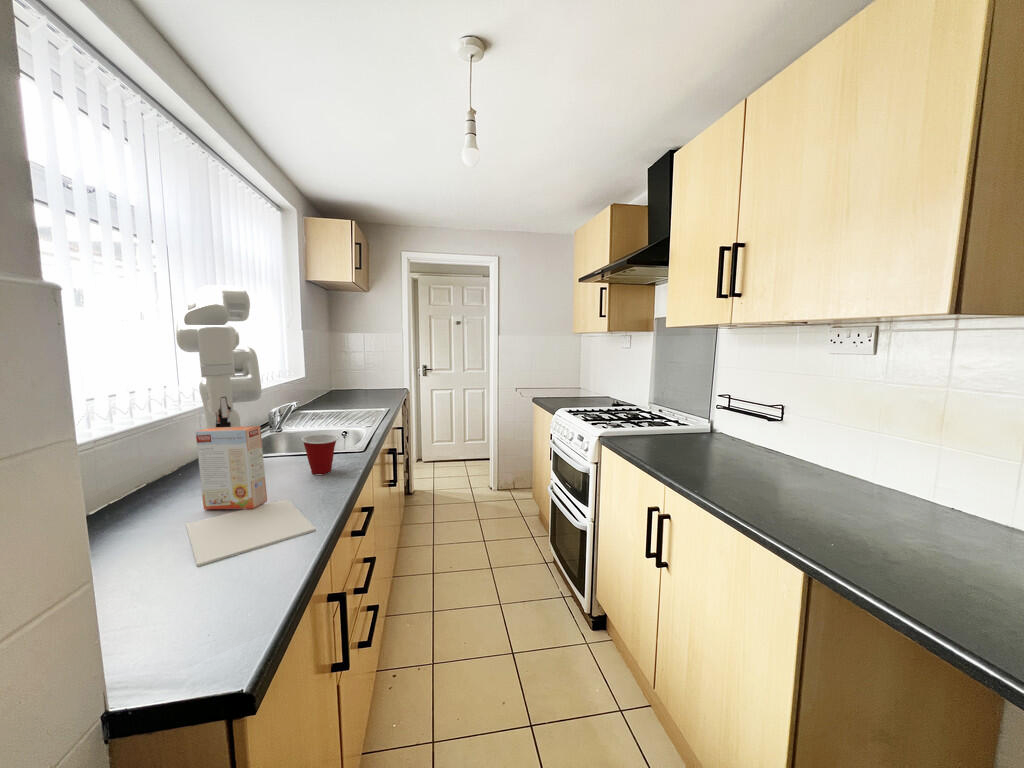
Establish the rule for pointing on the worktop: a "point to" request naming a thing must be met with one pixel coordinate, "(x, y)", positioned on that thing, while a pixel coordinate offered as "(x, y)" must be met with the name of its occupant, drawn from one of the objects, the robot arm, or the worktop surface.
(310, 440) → the plastic cup
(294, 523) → the mat
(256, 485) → the cracker box
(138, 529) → the worktop surface
